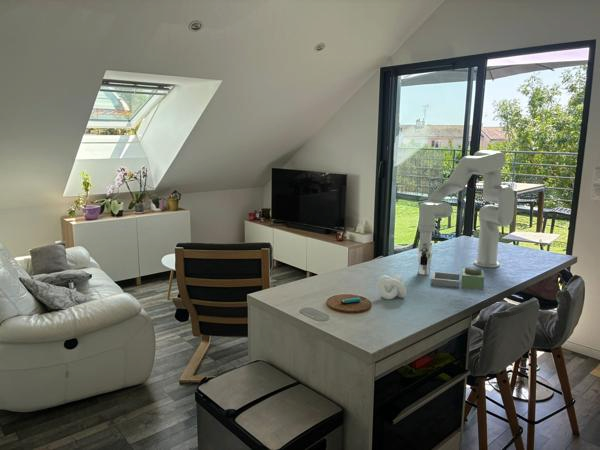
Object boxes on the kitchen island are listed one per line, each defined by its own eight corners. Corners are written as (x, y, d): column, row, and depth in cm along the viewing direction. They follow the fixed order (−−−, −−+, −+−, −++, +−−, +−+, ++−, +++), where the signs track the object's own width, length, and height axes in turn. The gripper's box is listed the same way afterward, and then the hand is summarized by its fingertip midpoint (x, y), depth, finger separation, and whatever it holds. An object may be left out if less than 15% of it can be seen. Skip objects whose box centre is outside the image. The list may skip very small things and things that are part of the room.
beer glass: (431, 276, 226) (433, 246, 223) (417, 275, 227) (418, 245, 224) (430, 271, 233) (432, 242, 230) (416, 271, 234) (418, 241, 231)
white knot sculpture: (412, 297, 197) (414, 277, 196) (396, 304, 189) (397, 283, 187) (390, 290, 205) (391, 271, 203) (374, 297, 197) (374, 277, 195)
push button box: (432, 277, 224) (433, 262, 222) (481, 282, 217) (483, 266, 216) (431, 285, 213) (432, 269, 211) (483, 290, 206) (484, 273, 204)
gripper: (420, 224, 235) (417, 257, 238) (417, 230, 219) (414, 266, 222) (435, 225, 232) (433, 258, 236) (433, 232, 216) (431, 267, 220)
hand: (424, 262), depth 229 cm, fingers open, 9 cm apart
